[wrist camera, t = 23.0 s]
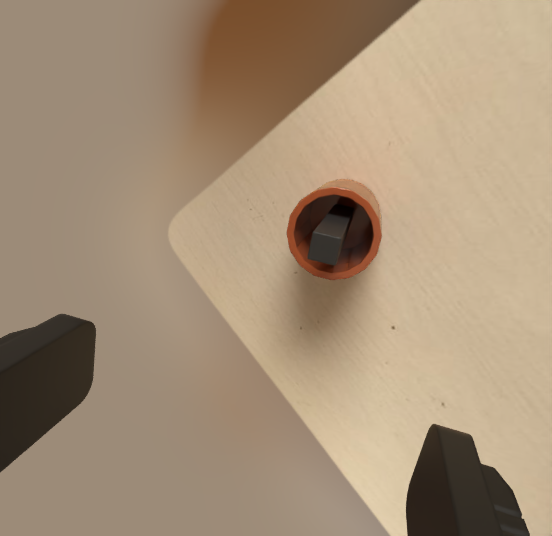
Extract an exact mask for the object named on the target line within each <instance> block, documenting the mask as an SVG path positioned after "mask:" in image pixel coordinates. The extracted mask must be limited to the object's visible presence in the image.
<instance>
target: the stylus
mask: <svg viewBox="0 0 552 536" xmlns="http://www.w3.org/2000/svg"><path fill="white" fill-rule="evenodd" d="M353 212H354V208H353V207H349V206H344V205H340V204H335V205H334V206H333V207H332V208H331V210H330V211H329V212H328V214H327V215H326V216H325V217H324V219H323V220H322V221H321V223H320V224H319V225H318V226H317V228H316V229H315V230H314V231H313V234H312V238H311V243H310V247H309V252H308V257H307V258H308V259H310V260H314V261H318V262H322V263H326V264H330V265H336V262H337V260H338V257H339V254H340V252H341V249H342V246H343V244H344V241H345V238H346V236H347V233H348V230H349V228H350V224H351V220H352V216H353Z"/></svg>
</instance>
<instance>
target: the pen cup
mask: <svg viewBox="0 0 552 536" xmlns="http://www.w3.org/2000/svg"><path fill="white" fill-rule="evenodd" d="M335 204H340V205H344V206H349V207H353V208H354V212H353V216H352V220H351V224H350V228H349V230H348V233H347V236H346V238H345V241H344V244H343V246H342V249H341V252H340V254H339V257H338V260H337V262H336V265H330V264H326V263H322V262H318V261H314V260H310V259H308V258H307V257H308V252H309V247H310V243H311V238H312V234H313V231H314V230H315V229H316V228H317V226H318V225H319V224H320V223H321V221H322V220H323V219H324V217H325V216H326V215H327V214H328V212H329V211H330V210H331V208H332V207H333V206H334V205H335ZM381 236H382V231H381V213H380V207H379V203H378V201H377V199H376V197H375V196H374V194H373V193H372V192H371V191H370V190H369V189H368V188H367V187H366V186H364V185H363V184H361V183H359V182H357V181H353V180H348V179H339V180H334V181H330V182H327V183H326V184H324V185H322V186H321V187H319V188H318V189H316V190H315V191H313V192H312V193H310V194H309V195H307V196H306V197H305V198H303V199H302V200H301V201H299V203H298V204H297V206H296V207H295V209H294V210H293V212H292V213H291V215H290V218H289V223H288V228H287V238H288V243H289V248H290V251H291V253H292V254H293V256H294V257H295V259H296V261H297V262H298V264H299V265H300V266H301V267H303V268H304V269H305V270H307V271H308V272H310V273H311V274H312V275H315V276H317V277H321V278H325V279H329V280H336V279H344V278H349V277H352V276H354V275H356V274H357V273H359V272H361V271H363V270H364V269H366V268H367V266H368V265H369V264H370V263H371V261H372V260H373V259H374V258H375V256H376V255H377V252H378V249H379V245H380V241H381V238H382V237H381Z"/></svg>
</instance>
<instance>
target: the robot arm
mask: <svg viewBox="0 0 552 536" xmlns="http://www.w3.org/2000/svg"><path fill="white" fill-rule="evenodd" d="M95 338H96V329H95V325H94V324H93V323H92V322H90V321H86V320H83V319H80V318H76V317H73V316H70V315H66V314H59V315H57V316H55V317H53V318H51V319H49V320H47V321H45V322H43V323H41V324H40V325H38V326H36V327H33V328H28V329H25V330H21V331H17V332H13V333H10V334H8V335H6V336H4V337H2V338H0V472H1V471H2V470H4V469H5V468H6V467H7V466H8V465H9V464H11V463H12V462H13V461H14V460H15V459H16V458H18V457H19V456H20V455H21V454H22V453H23V452H24V451H26V450H27V449H28V448H29V447H30V446H32V445H33V444H34V443H35V442H36V441H37V440H39V439H40V438H41V437H42V436H43V435H44V434H46V433H47V432H48V431H49V430H50V429H51V428H52V427H53V426H55V425H56V424H57V423H58V422H59V421H61V420H62V419H63V418H64V417H65V416H66V415H68V414H69V413H70V412H71V411H72V410H73V409H75V408H76V407H77V406H78V405H79V404H80V403H81V402H82V401H83V400H84V399H85V397H86V396H87V394H88V392H89V390H90V388H91V385H92V381H93V371H94V354H95ZM521 516H522V513H521V511H520V508H519V506H518V503H517V500H516V498H515V495H514V493H513V490H512V489H511V488H510V487H509V485H508V484H507V483H506V482H505V480H504V479H503V478H502V477H501V476H500V474H499V473H498V472H497V471H496V469H495V468H493V467H490V466H487V465H483V464H481V463H480V460H479V456H478V453H477V450H476V447H475V444H474V441H473V438H472V436H471V435H470V434H467V433H463V432H460V431H457V430H453V429H450V428H446V427H443V426H440V425H436V424H432V425H431V427H430V428H429V430H428V433H427V436H426V438H425V441H424V444H423V447H422V450H421V452H420V455H419V458H418V461H417V464H416V466H415V469H414V472H413V475H412V478H411V481H410V484H409V488H408V493H407V501H406V519H407V533H408V536H530V534H529V531H528V529H527V526H526V524H525V521H524V519H522V518H521Z"/></svg>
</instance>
